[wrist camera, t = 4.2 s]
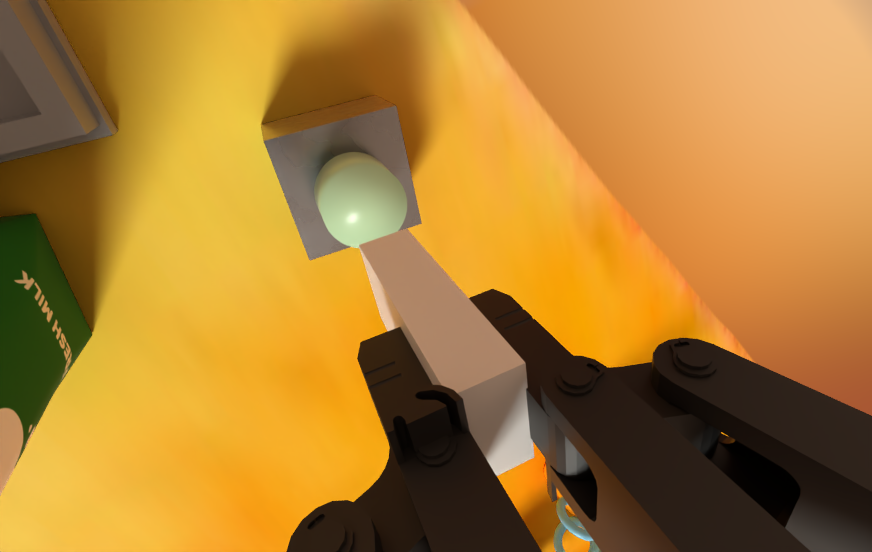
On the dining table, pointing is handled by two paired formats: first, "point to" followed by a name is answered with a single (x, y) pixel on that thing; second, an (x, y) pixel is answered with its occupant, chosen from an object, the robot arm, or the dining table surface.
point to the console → (325, 139)
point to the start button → (359, 199)
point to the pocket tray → (43, 85)
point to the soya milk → (32, 333)
